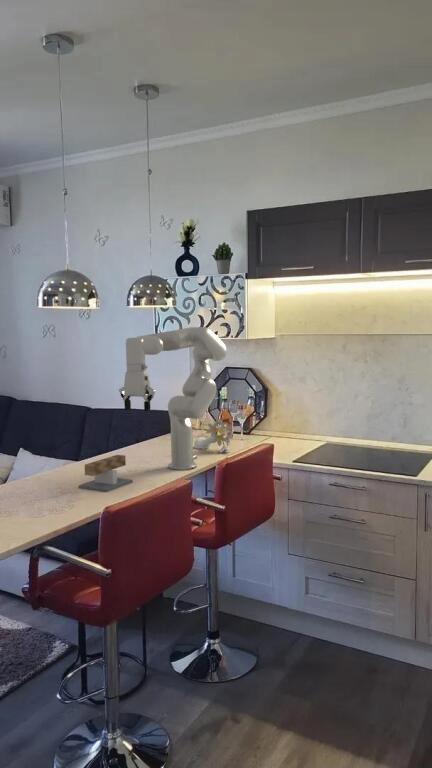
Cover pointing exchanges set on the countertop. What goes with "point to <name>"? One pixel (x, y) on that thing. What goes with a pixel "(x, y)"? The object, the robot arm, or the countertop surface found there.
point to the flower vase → (215, 436)
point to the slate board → (105, 486)
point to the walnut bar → (105, 465)
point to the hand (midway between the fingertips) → (137, 410)
